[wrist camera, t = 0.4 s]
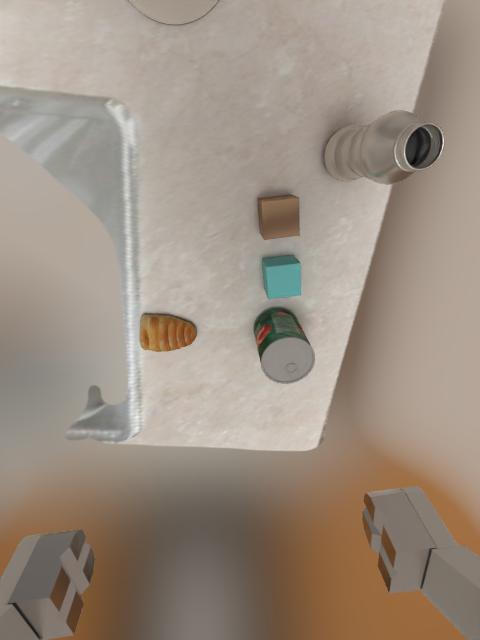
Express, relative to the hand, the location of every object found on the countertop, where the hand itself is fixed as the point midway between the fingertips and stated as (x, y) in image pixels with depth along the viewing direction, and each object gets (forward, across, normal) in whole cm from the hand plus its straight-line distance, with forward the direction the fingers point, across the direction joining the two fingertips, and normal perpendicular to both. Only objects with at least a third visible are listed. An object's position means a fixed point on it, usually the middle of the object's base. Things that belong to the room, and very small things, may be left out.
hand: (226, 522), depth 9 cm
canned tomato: (+45, -8, +17) cm, 49 cm away
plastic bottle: (+45, -19, -9) cm, 49 cm away
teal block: (+45, -9, +7) cm, 46 cm away
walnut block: (+45, -9, -2) cm, 46 cm away
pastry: (+45, +11, +15) cm, 49 cm away
